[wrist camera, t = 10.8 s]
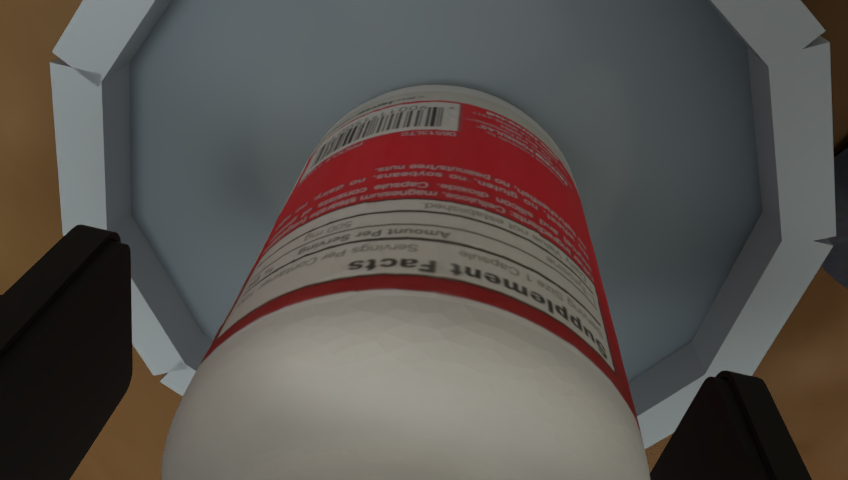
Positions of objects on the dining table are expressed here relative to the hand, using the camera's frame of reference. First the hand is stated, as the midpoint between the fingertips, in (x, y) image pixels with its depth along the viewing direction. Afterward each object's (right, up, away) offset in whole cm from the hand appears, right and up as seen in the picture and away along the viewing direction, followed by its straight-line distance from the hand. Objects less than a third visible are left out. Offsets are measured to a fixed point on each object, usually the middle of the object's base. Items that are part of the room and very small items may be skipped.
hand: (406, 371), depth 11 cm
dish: (+1, +3, +6) cm, 6 cm away
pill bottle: (+1, +3, +5) cm, 5 cm away
